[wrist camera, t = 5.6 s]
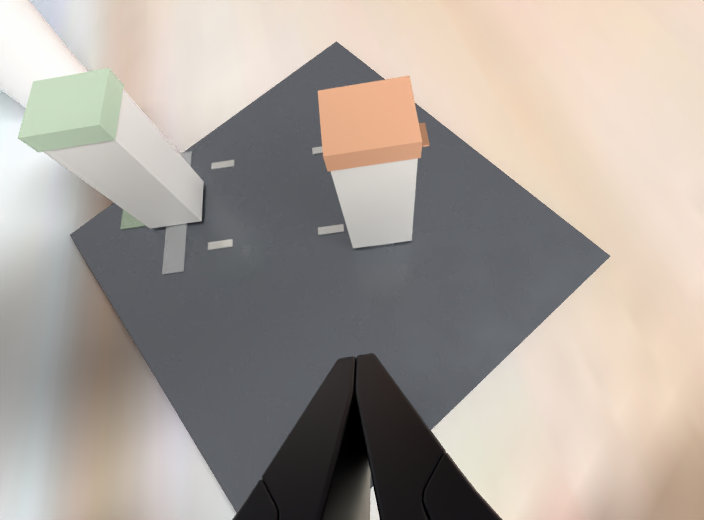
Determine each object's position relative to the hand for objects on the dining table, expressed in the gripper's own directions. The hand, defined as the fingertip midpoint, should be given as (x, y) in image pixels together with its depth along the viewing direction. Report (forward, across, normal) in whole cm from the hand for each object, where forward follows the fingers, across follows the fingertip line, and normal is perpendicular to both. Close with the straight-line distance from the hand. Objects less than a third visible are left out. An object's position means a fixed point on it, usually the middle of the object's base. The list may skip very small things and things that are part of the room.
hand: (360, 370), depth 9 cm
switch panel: (+15, +3, +3) cm, 16 cm away
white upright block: (+18, +12, 0) cm, 22 cm away
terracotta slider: (+16, -1, +2) cm, 16 cm away
